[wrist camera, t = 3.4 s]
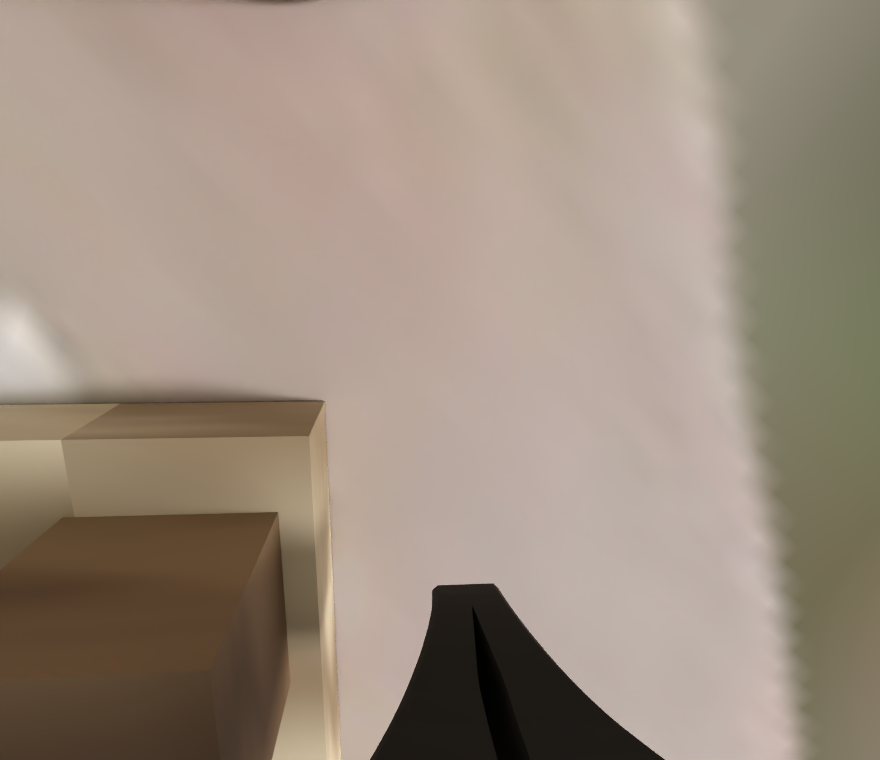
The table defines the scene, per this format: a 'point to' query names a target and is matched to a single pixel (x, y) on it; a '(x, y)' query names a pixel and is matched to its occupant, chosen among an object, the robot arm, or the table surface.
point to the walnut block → (145, 640)
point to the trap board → (195, 507)
